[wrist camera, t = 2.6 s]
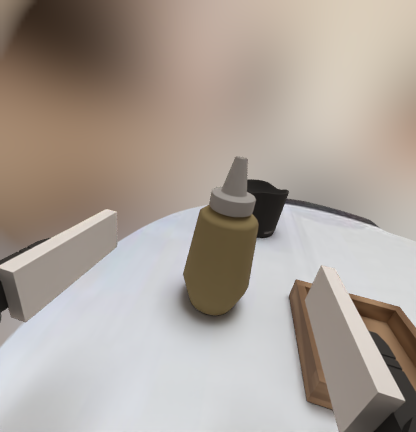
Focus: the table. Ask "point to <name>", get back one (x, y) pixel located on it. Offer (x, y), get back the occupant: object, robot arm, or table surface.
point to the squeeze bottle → (223, 245)
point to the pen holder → (266, 205)
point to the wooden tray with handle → (374, 321)
